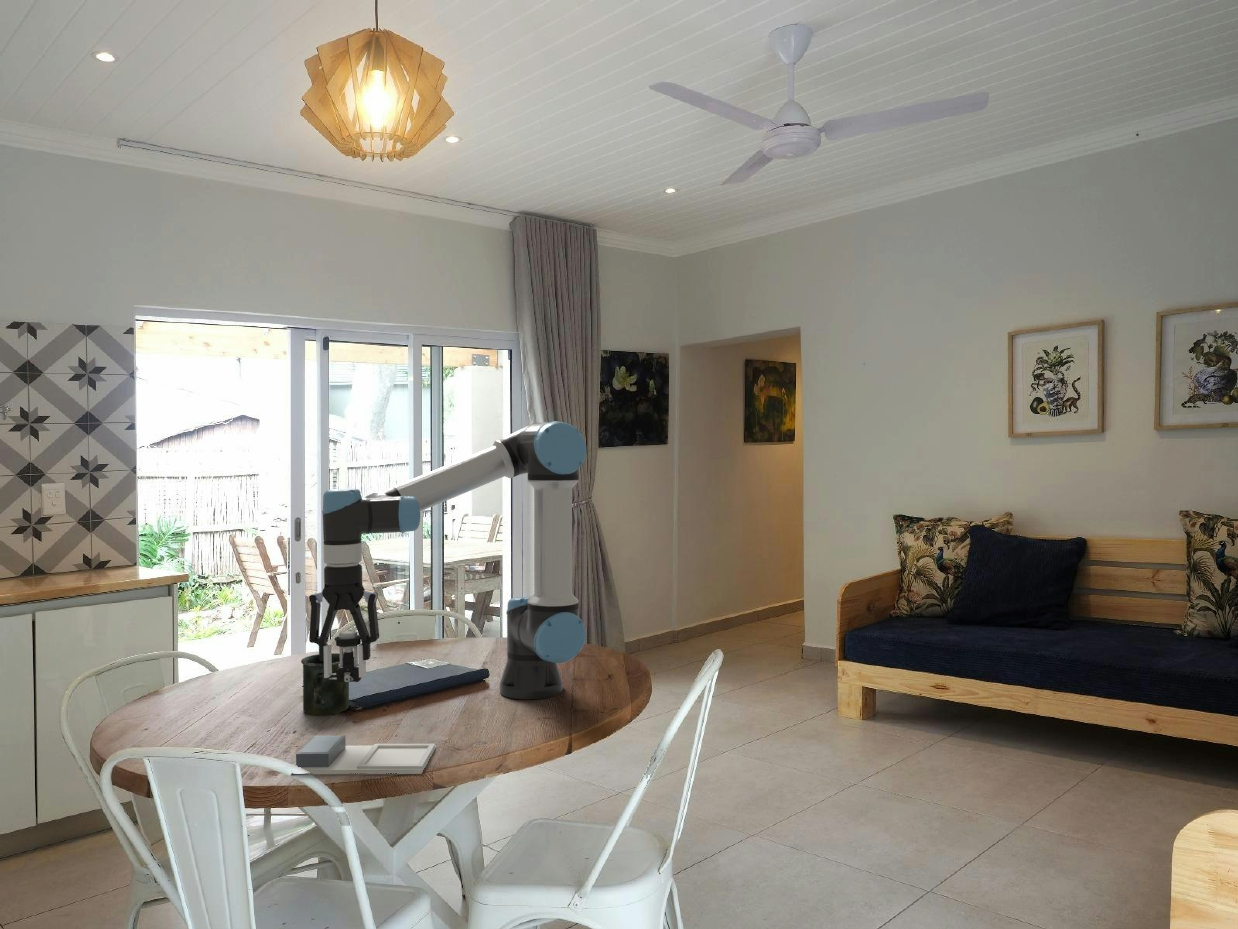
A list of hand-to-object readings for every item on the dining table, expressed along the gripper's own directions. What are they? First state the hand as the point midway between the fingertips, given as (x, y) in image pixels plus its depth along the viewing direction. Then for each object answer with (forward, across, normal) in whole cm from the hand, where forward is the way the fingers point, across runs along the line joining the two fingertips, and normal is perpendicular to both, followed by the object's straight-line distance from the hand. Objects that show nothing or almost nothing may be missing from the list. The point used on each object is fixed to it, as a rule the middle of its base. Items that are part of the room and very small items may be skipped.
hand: (345, 675), depth 188 cm
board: (+13, -8, +13) cm, 20 cm away
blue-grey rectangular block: (+12, +1, +13) cm, 18 cm away
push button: (+1, 0, 0) cm, 1 cm away
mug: (+13, +10, -20) cm, 26 cm away
